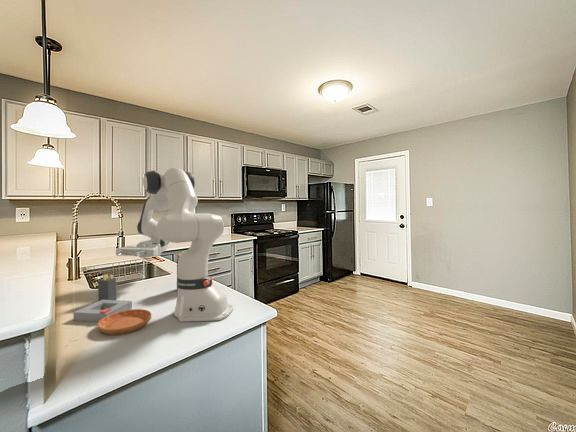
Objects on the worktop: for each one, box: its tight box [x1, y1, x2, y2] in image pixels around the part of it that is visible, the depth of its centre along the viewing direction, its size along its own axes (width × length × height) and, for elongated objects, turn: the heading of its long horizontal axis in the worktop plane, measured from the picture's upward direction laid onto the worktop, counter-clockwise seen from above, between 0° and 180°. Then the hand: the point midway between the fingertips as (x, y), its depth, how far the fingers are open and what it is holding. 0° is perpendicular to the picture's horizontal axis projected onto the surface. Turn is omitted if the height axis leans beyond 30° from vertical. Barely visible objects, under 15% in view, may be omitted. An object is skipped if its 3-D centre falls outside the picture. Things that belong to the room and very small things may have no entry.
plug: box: [97, 274, 117, 301], centre depth 112 cm, size 4×4×12 cm
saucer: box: [96, 308, 152, 336], centre depth 90 cm, size 16×16×3 cm
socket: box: [73, 299, 133, 323], centre depth 100 cm, size 13×13×4 cm
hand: (126, 254), depth 124 cm, fingers open, 8 cm apart
